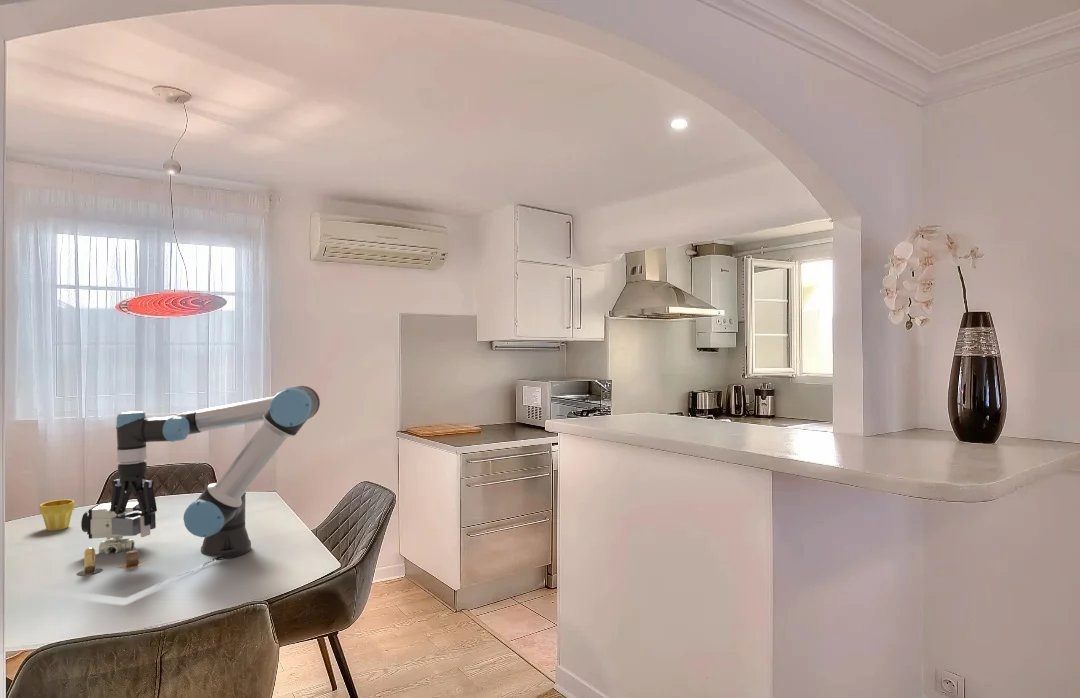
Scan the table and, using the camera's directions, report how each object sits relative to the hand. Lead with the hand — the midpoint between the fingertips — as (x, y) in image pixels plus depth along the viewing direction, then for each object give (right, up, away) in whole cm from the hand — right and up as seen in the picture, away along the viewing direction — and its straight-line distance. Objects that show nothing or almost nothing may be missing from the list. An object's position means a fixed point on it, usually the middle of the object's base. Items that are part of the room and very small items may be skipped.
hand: (134, 534), depth 190 cm
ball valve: (-16, -11, +14) cm, 24 cm away
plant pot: (-58, -11, +43) cm, 73 cm away
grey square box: (0, +1, 0) cm, 1 cm away
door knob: (-9, -11, -6) cm, 16 cm away
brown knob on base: (-1, -11, 0) cm, 11 cm away
